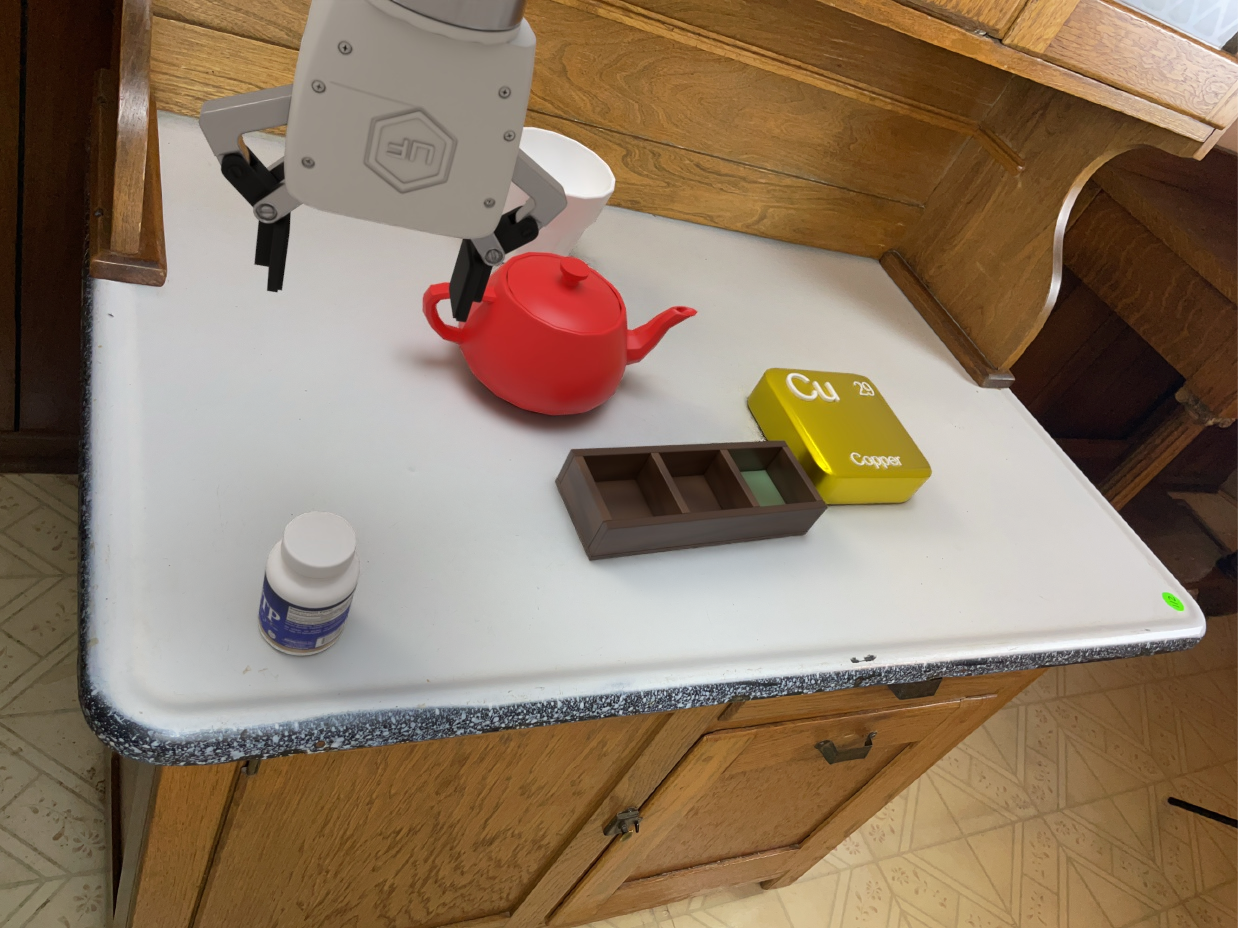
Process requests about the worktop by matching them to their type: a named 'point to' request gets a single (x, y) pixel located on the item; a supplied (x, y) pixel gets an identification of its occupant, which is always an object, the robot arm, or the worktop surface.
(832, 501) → the element tile
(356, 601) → the worktop surface
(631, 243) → the worktop surface
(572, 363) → the teapot
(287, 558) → the pill bottle
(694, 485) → the rack
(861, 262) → the worktop surface
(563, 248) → the cup
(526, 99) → the robot arm
